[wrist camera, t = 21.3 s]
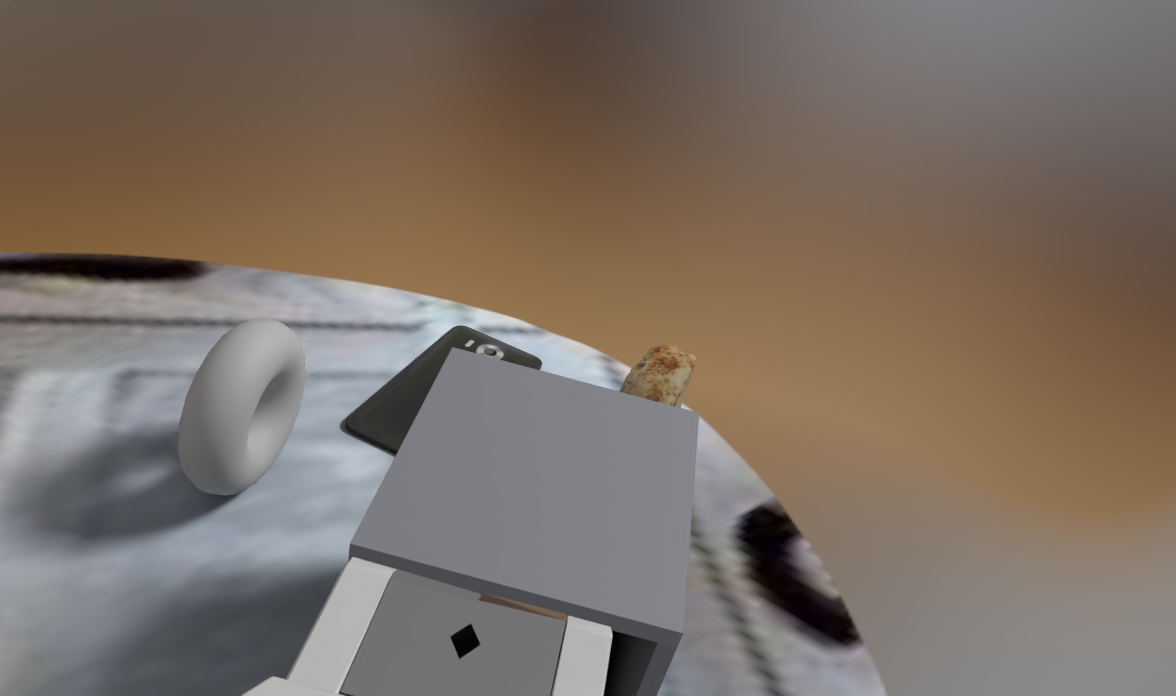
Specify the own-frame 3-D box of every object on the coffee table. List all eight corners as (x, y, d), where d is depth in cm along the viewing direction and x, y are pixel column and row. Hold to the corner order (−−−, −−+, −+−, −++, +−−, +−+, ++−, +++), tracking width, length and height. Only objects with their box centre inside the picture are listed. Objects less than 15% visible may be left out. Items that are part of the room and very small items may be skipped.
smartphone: (544, 368, 67) (546, 359, 67) (441, 481, 55) (443, 472, 55) (456, 330, 69) (458, 321, 68) (338, 432, 57) (339, 422, 56)
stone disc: (624, 429, 62) (661, 311, 57) (673, 451, 62) (715, 332, 56) (566, 519, 54) (602, 391, 49) (621, 545, 53) (665, 417, 48)
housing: (595, 838, 39) (682, 633, 31) (328, 765, 39) (350, 543, 31) (628, 606, 49) (698, 413, 42) (419, 550, 50) (452, 347, 42)
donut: (227, 542, 47) (226, 395, 42) (167, 523, 47) (157, 374, 42) (313, 430, 56) (320, 296, 50) (261, 414, 56) (263, 278, 50)
